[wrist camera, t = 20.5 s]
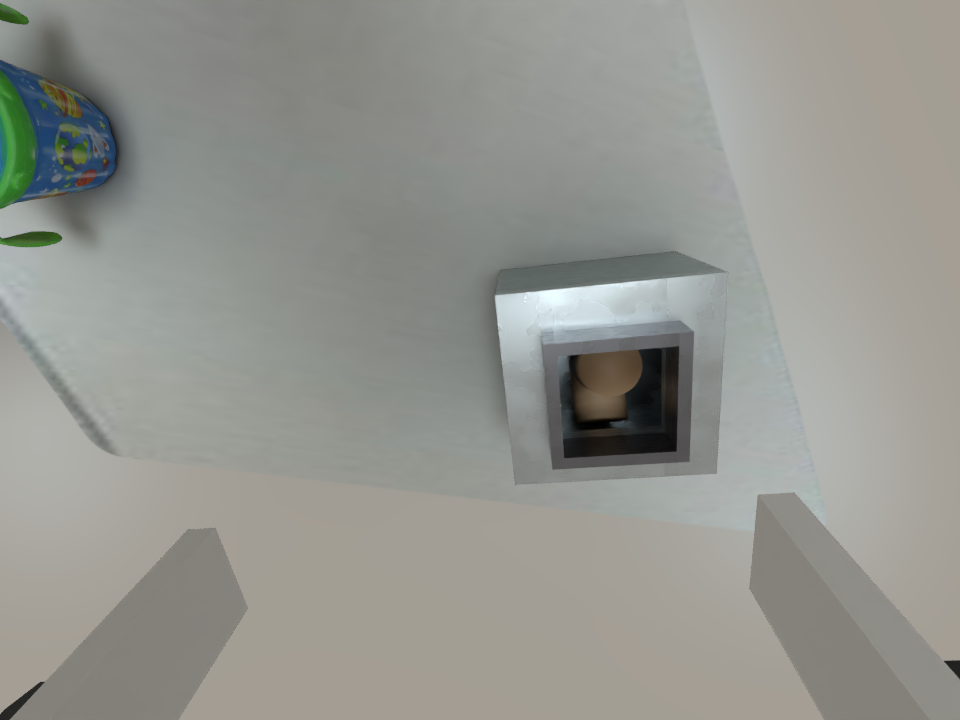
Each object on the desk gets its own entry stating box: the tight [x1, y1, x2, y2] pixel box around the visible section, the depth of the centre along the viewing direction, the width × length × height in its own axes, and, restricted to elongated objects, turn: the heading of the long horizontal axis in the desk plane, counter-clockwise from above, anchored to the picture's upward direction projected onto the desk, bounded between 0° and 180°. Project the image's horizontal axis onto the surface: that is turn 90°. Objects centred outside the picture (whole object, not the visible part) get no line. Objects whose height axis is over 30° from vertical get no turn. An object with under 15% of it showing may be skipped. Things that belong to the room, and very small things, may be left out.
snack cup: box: [0, 3, 116, 247], centre depth 33 cm, size 16×10×10 cm
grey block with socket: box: [495, 251, 728, 485], centre depth 35 cm, size 14×14×12 cm
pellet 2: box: [569, 358, 628, 424], centre depth 38 cm, size 4×4×5 cm
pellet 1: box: [573, 350, 642, 396], centre depth 33 cm, size 4×4×5 cm
